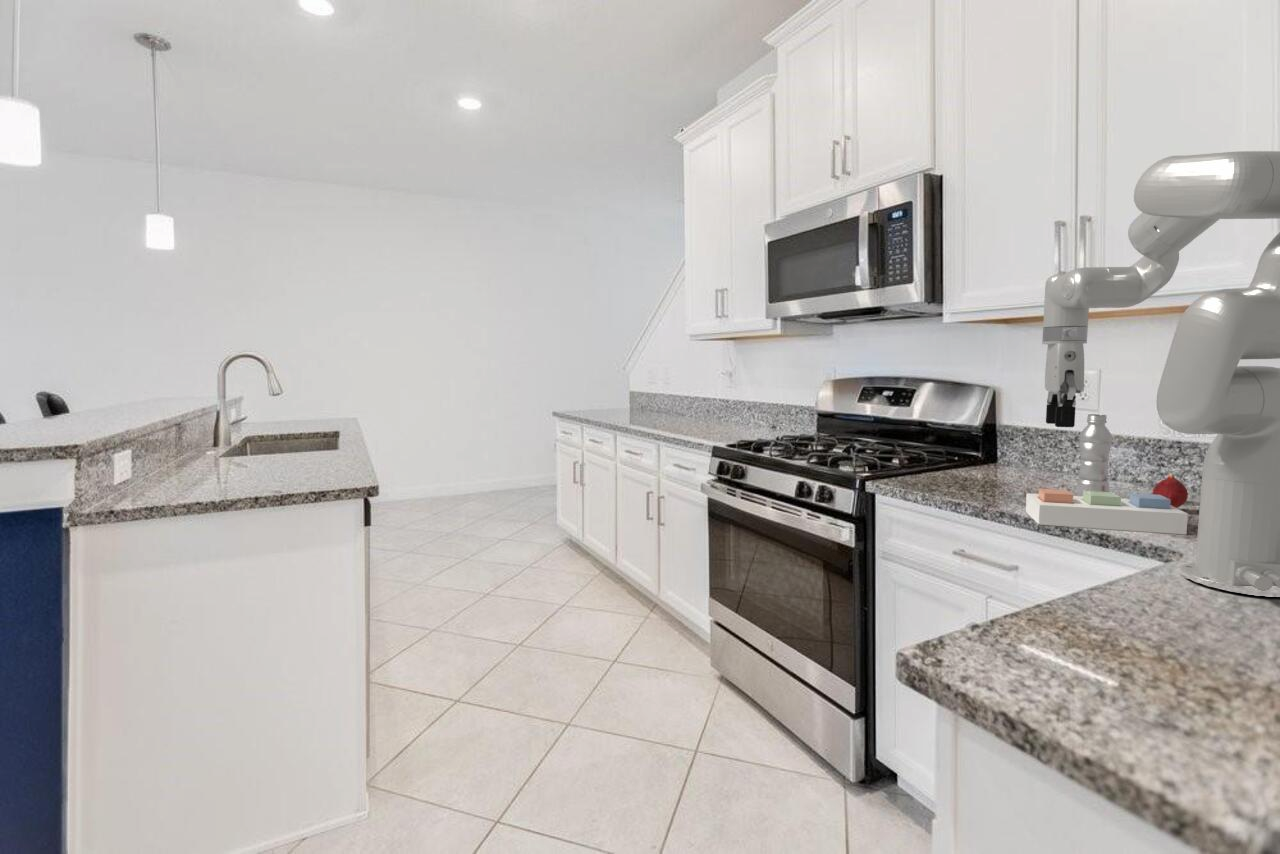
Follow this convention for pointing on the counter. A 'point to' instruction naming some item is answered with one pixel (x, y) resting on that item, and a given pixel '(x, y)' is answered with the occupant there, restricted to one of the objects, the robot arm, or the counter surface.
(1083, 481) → the plastic bottle
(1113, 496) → the sage key
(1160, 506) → the slate key
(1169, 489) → the onion
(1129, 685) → the counter surface
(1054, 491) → the terracotta key
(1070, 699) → the counter surface
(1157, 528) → the button panel
